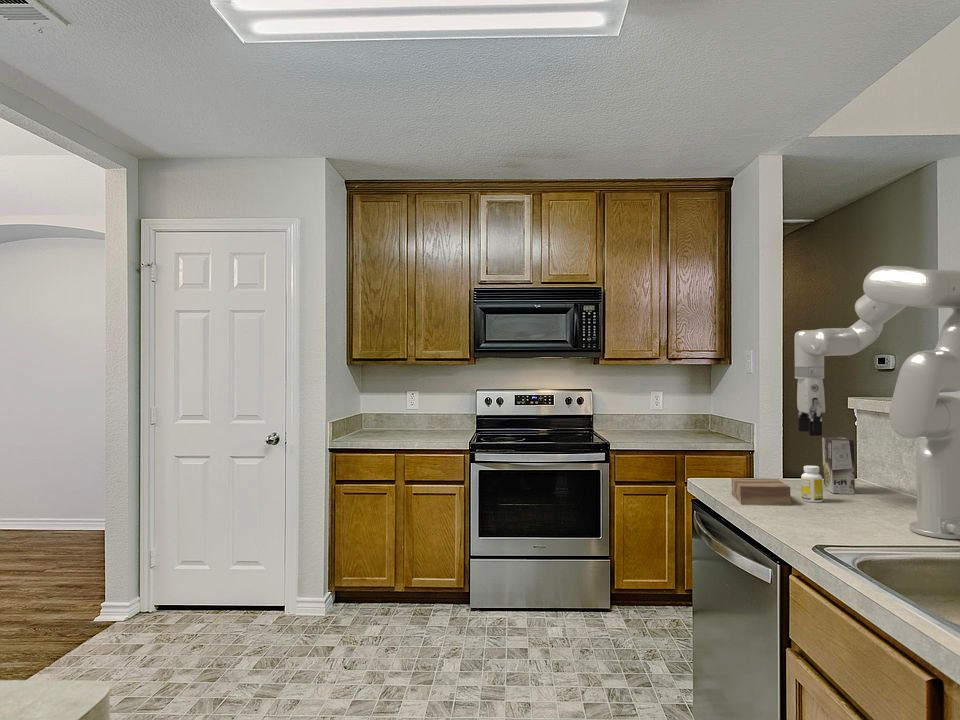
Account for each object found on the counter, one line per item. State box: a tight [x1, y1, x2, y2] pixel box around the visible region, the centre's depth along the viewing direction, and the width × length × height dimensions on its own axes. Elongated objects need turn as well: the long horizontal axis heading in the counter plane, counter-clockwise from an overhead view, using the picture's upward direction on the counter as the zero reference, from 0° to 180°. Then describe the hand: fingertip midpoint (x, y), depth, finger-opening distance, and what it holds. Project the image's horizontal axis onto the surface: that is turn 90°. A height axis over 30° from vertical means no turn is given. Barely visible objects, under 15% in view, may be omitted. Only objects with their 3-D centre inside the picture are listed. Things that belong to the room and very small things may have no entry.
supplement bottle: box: [800, 465, 824, 503], centre depth 186 cm, size 5×5×10 cm
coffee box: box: [821, 436, 856, 495], centre depth 199 cm, size 9×6×16 cm
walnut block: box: [731, 477, 792, 506], centre depth 189 cm, size 13×13×5 cm
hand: (809, 433), depth 187 cm, fingers open, 9 cm apart
